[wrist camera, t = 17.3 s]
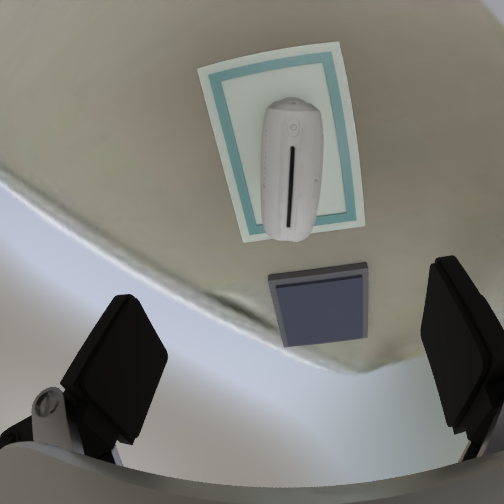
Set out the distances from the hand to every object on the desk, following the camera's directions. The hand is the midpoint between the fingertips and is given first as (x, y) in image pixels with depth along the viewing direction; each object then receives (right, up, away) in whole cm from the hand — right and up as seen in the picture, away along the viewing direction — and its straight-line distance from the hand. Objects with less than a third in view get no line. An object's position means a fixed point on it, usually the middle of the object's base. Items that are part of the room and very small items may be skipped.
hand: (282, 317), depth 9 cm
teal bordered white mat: (+3, +13, +20) cm, 24 cm away
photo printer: (+3, +13, +20) cm, 24 cm away
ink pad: (+8, -5, +30) cm, 32 cm away
